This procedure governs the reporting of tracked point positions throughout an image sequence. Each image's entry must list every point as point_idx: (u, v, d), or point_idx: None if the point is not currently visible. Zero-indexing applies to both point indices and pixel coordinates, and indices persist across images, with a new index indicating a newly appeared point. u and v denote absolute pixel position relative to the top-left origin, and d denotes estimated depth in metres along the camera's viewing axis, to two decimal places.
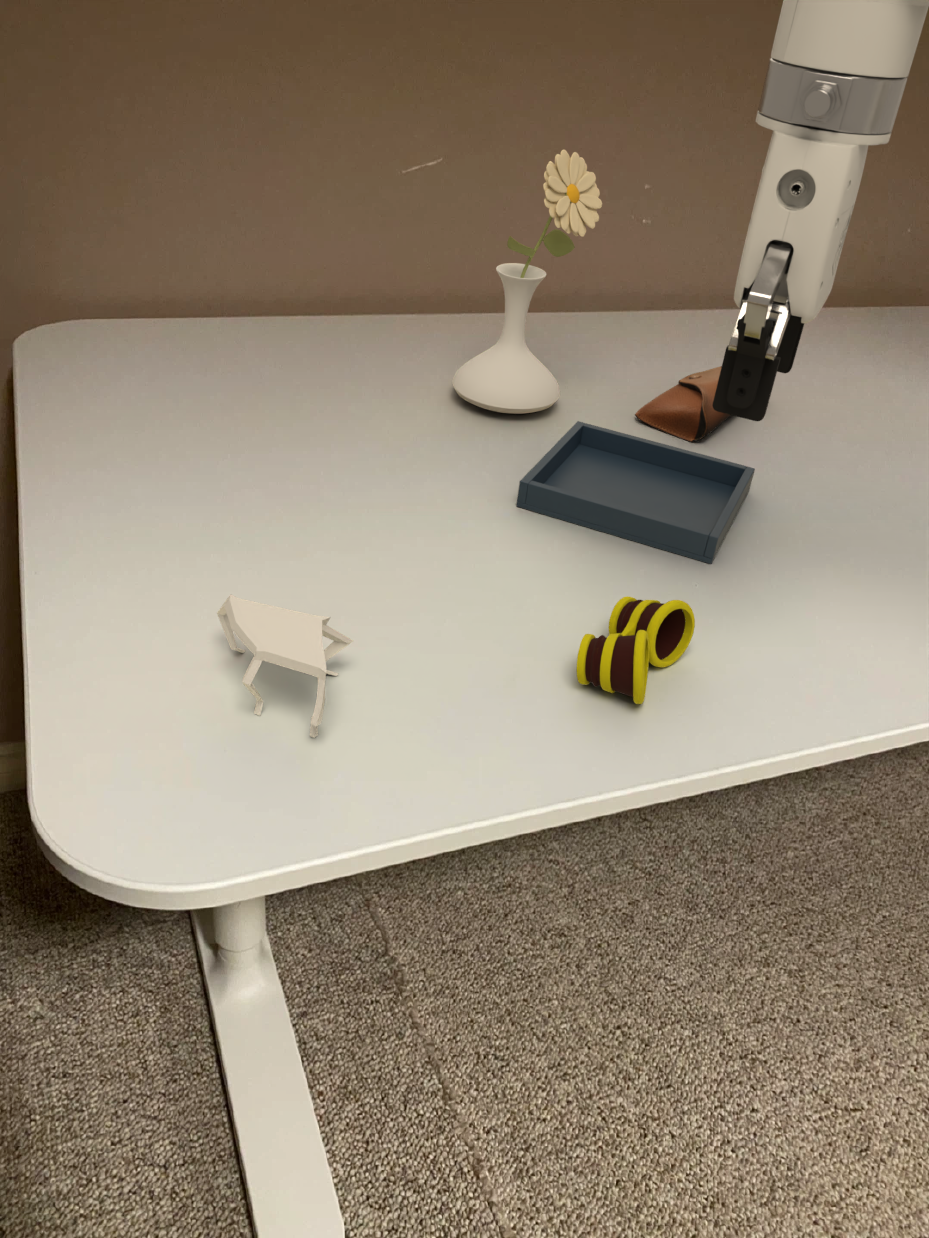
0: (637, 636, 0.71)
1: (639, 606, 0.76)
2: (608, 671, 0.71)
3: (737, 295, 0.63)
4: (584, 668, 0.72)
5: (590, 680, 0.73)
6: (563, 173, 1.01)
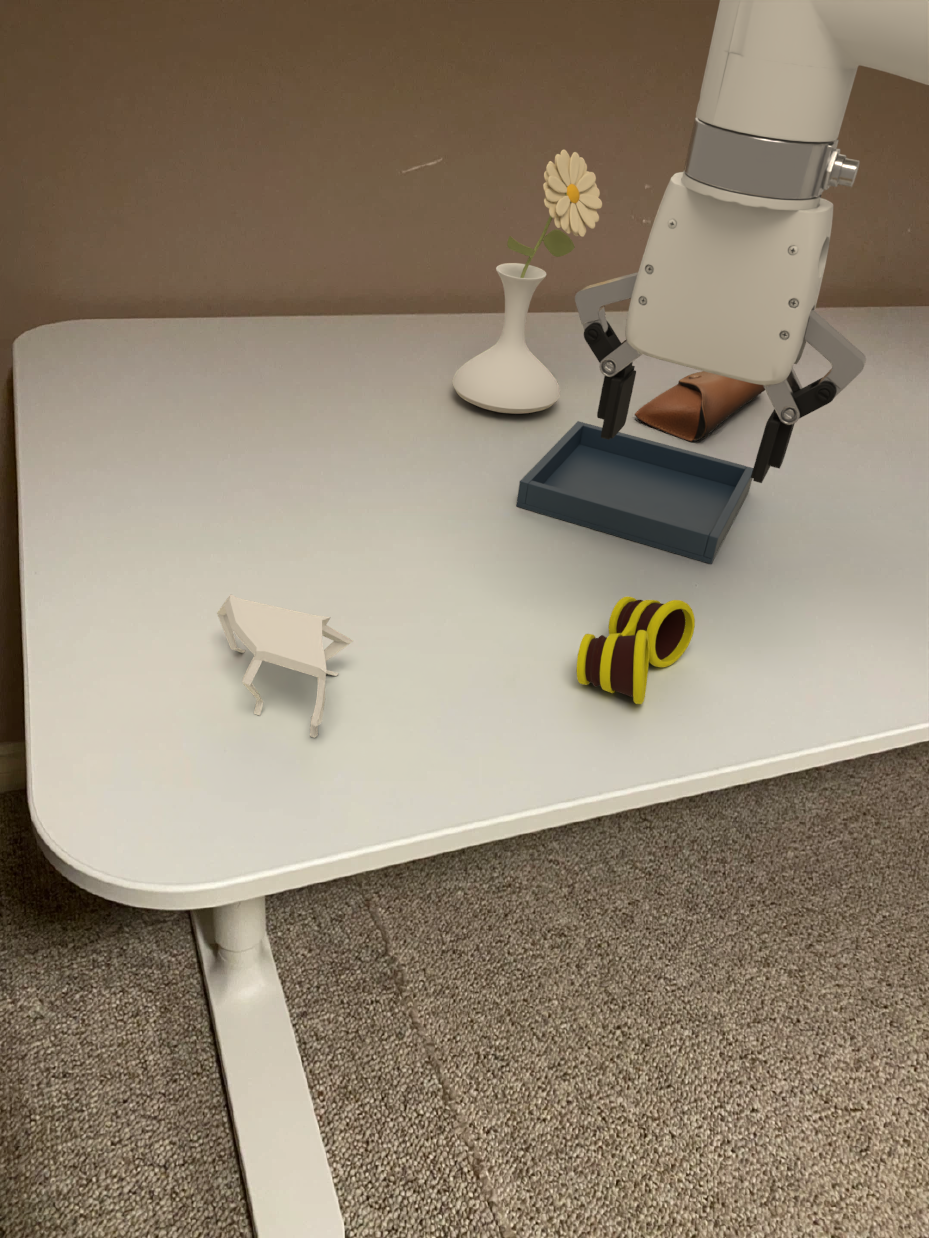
0: (637, 636, 0.71)
1: (639, 606, 0.76)
2: (608, 671, 0.71)
3: (785, 374, 0.61)
4: (584, 668, 0.72)
5: (590, 680, 0.73)
6: (563, 173, 1.01)
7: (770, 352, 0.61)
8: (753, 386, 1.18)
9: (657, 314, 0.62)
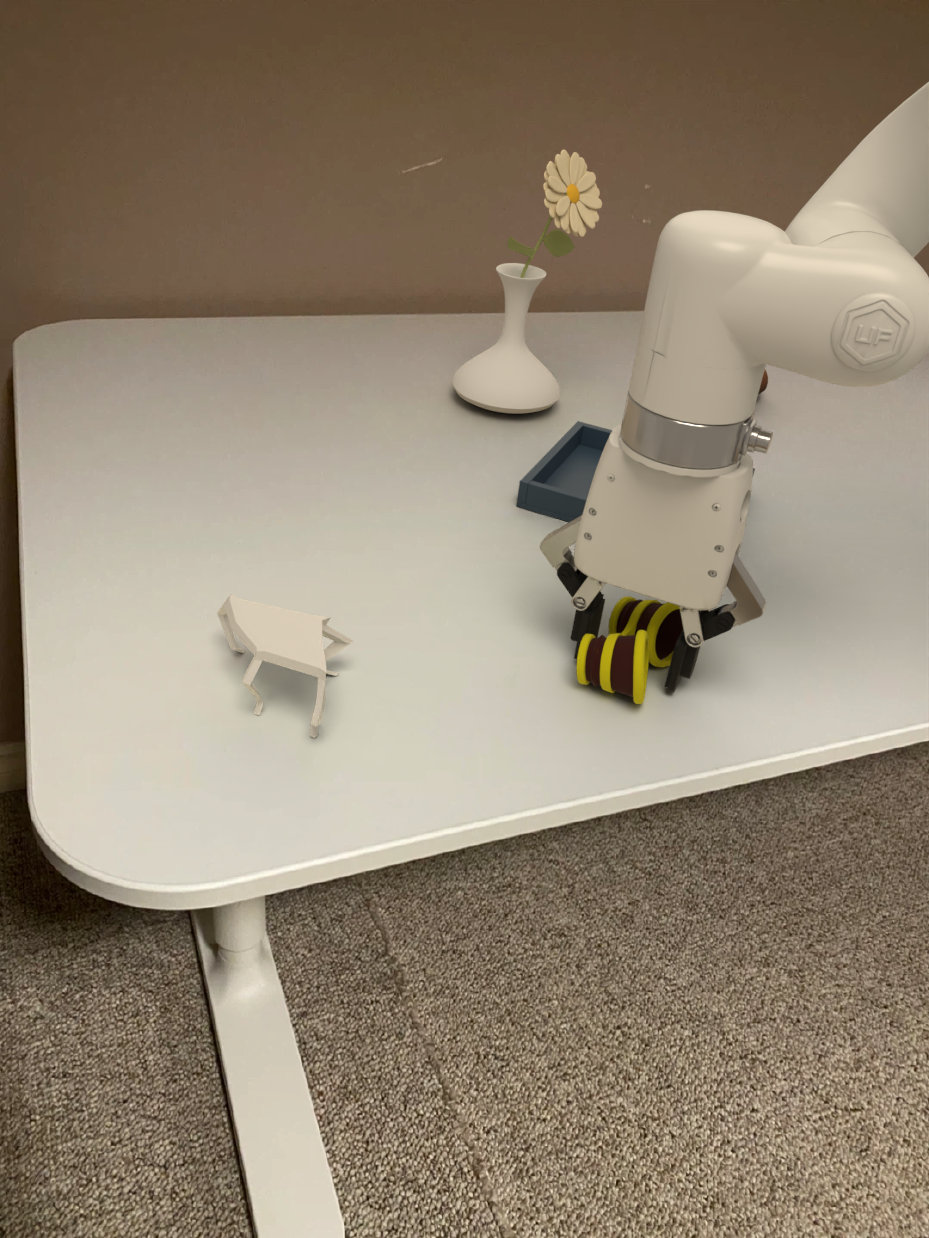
0: (637, 636, 0.71)
1: (639, 606, 0.76)
2: (608, 671, 0.71)
3: (714, 603, 0.69)
4: (584, 668, 0.72)
5: (590, 680, 0.73)
6: (563, 173, 1.01)
7: (700, 586, 0.68)
8: None
9: (601, 549, 0.70)
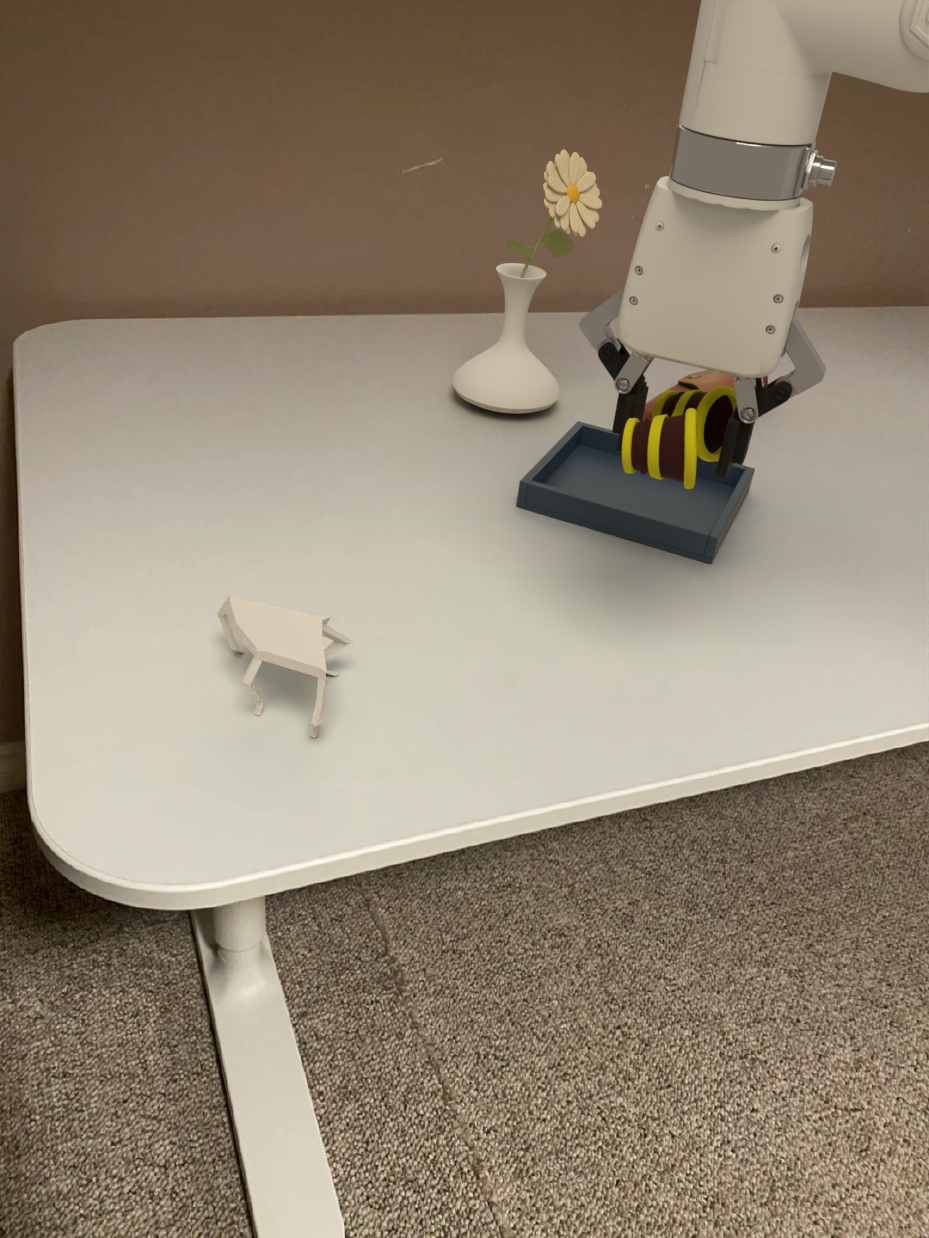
0: (687, 412, 0.66)
1: (685, 395, 0.71)
2: (657, 450, 0.66)
3: (772, 366, 0.64)
4: (630, 451, 0.67)
5: (636, 465, 0.68)
6: (563, 173, 1.01)
7: (757, 346, 0.63)
8: None
9: (648, 313, 0.65)
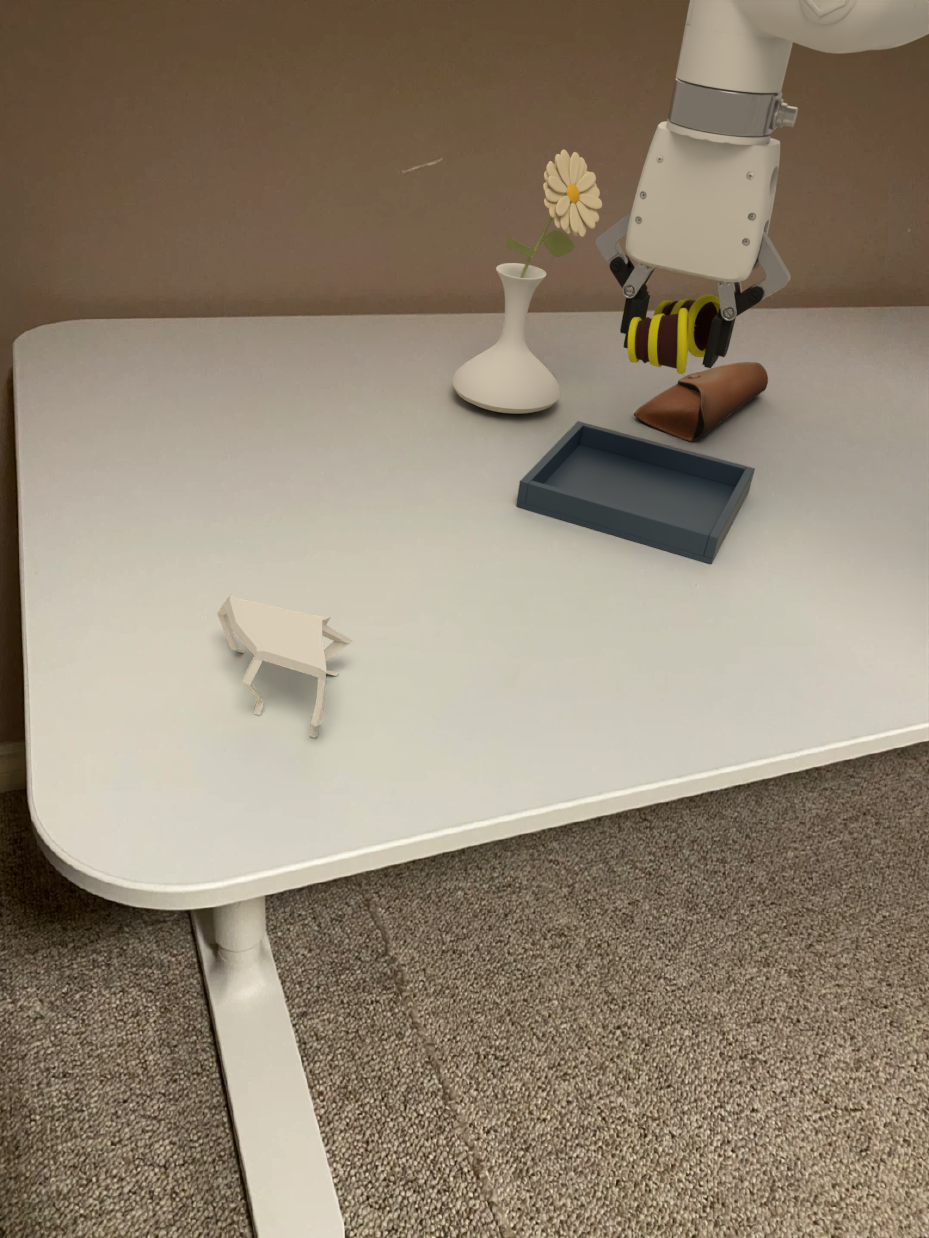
0: (680, 310, 0.83)
1: (679, 302, 0.88)
2: (655, 340, 0.83)
3: (747, 272, 0.81)
4: (634, 343, 0.84)
5: (639, 355, 0.85)
6: (563, 173, 1.01)
7: (735, 256, 0.80)
8: (752, 386, 1.18)
9: (650, 230, 0.82)
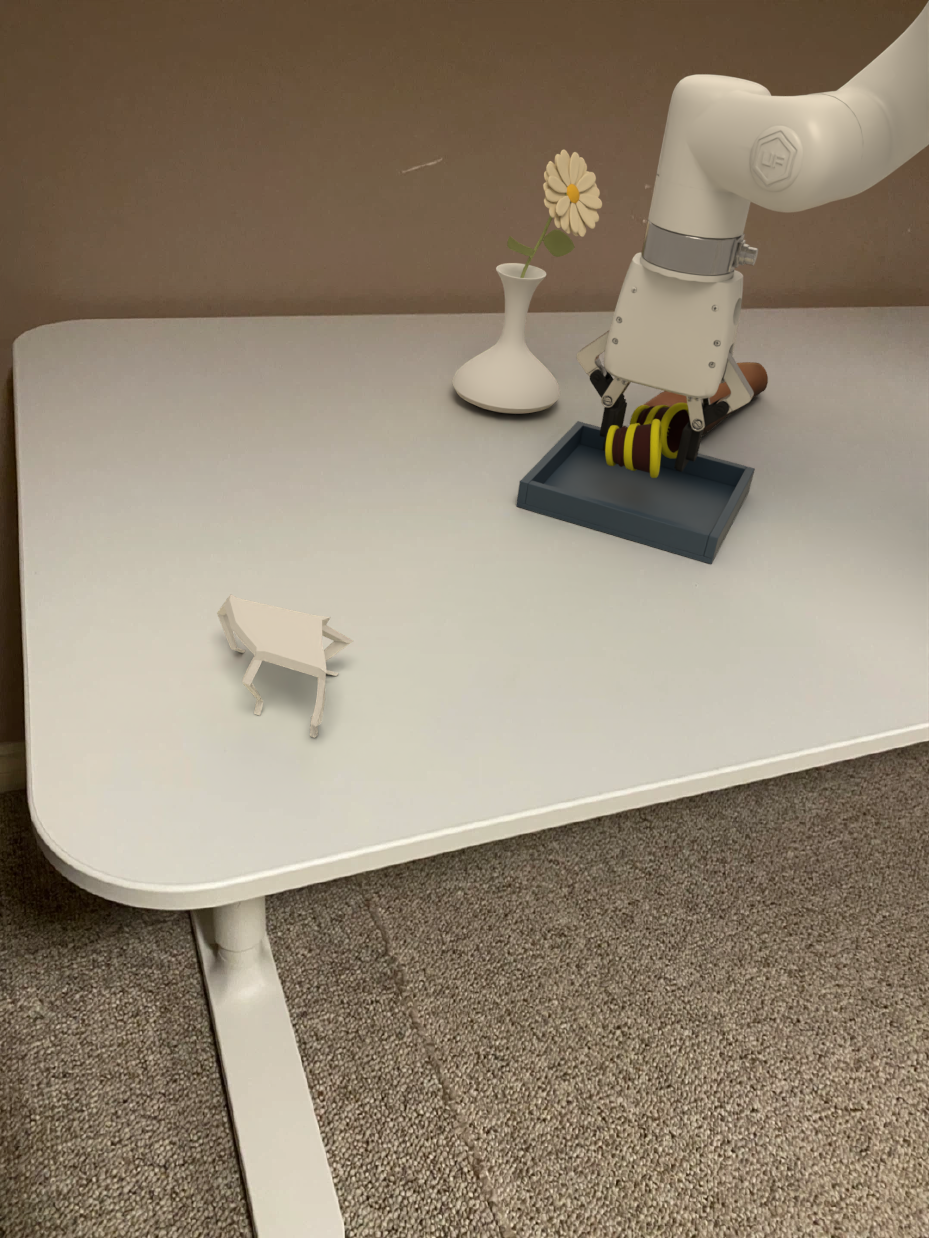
0: (653, 421, 0.91)
1: (654, 409, 0.96)
2: (630, 449, 0.91)
3: (713, 391, 0.89)
4: (611, 449, 0.92)
5: (616, 460, 0.93)
6: (563, 173, 1.01)
7: (703, 376, 0.88)
8: (752, 386, 1.18)
9: (625, 350, 0.90)
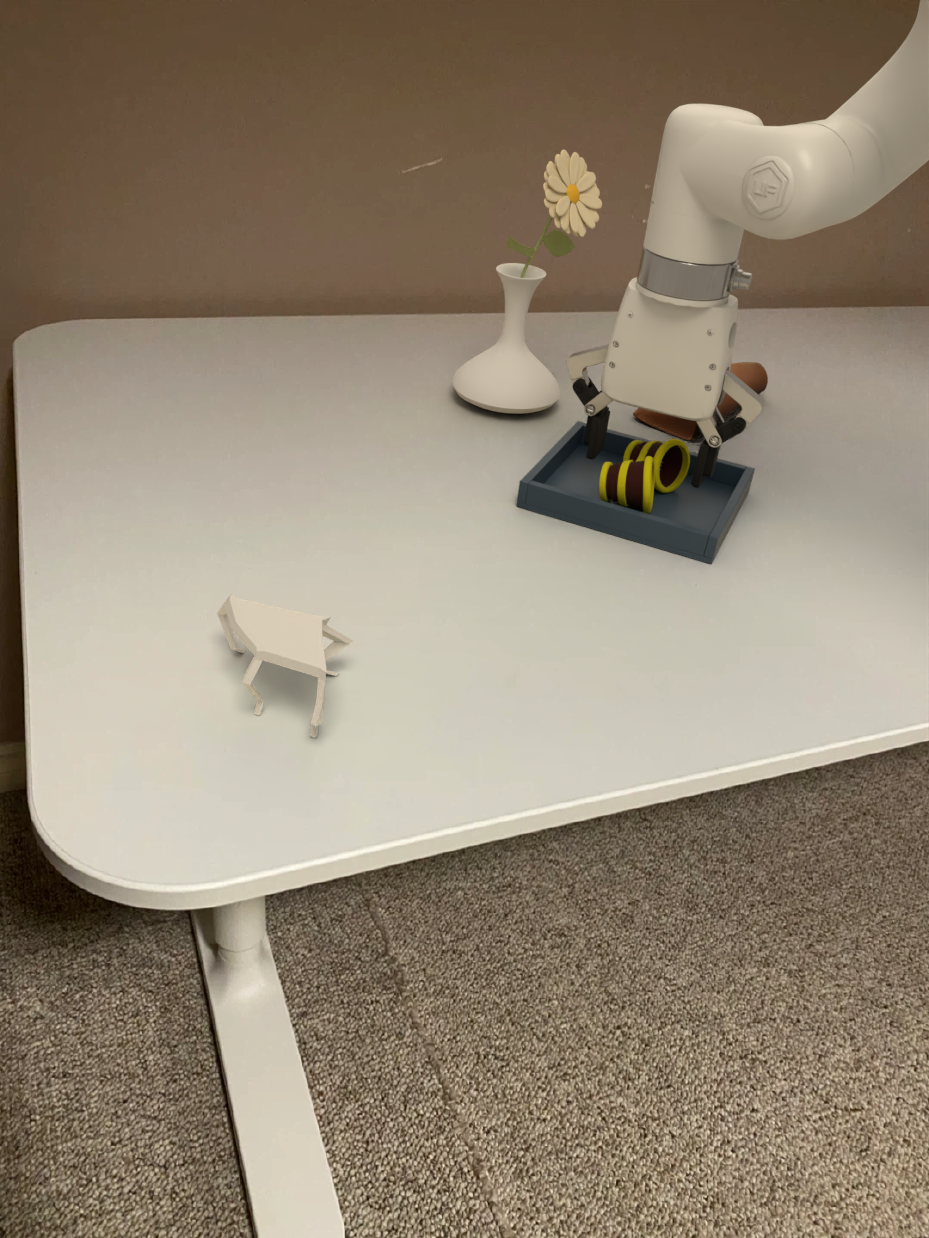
0: (646, 459, 0.93)
1: (647, 444, 0.98)
2: (623, 486, 0.93)
3: (710, 413, 0.90)
4: (605, 486, 0.94)
5: (609, 496, 0.95)
6: (563, 173, 1.01)
7: (699, 399, 0.89)
8: (752, 386, 1.18)
9: (622, 374, 0.91)
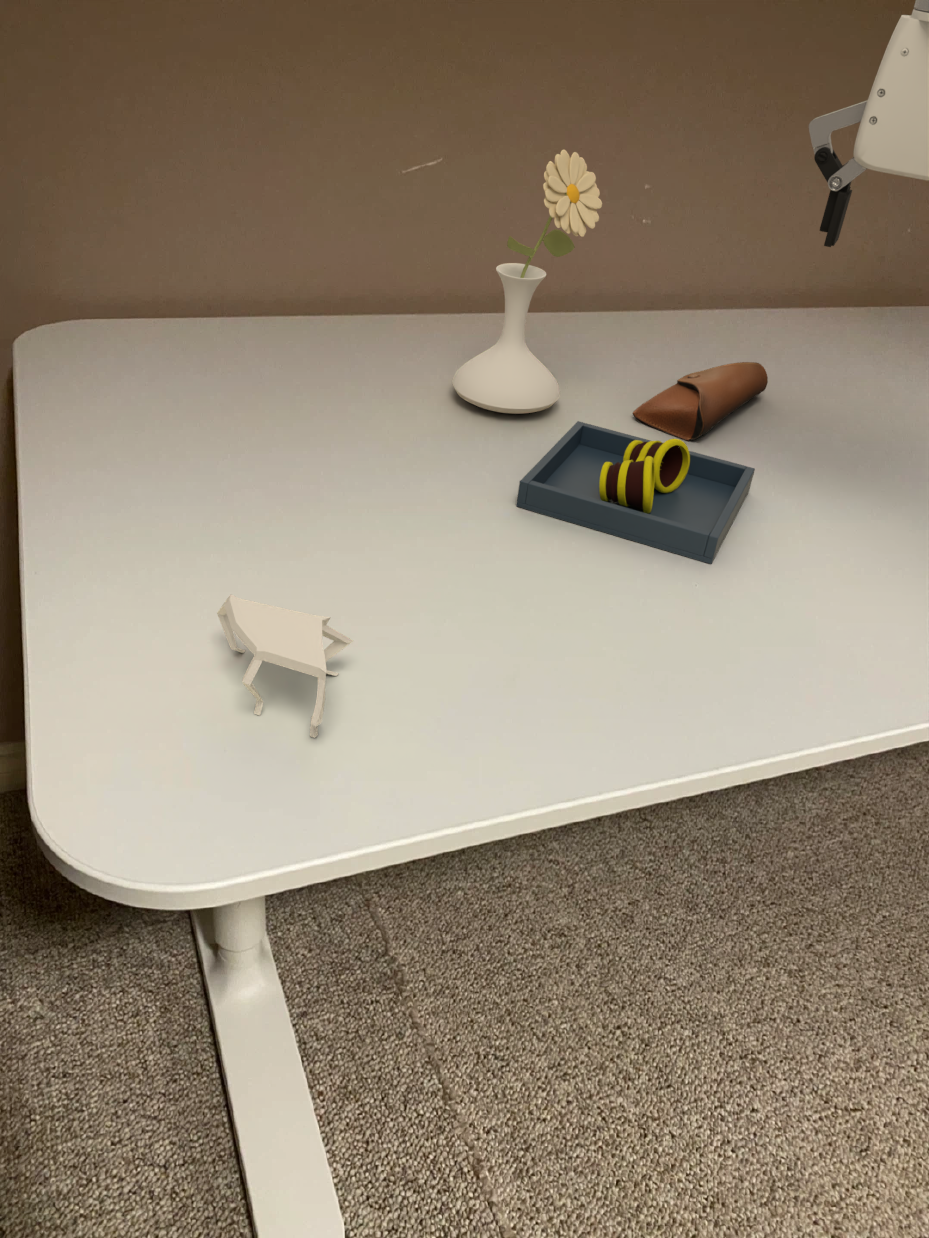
0: (646, 459, 0.93)
1: (647, 444, 0.98)
2: (623, 486, 0.93)
3: None
4: (605, 486, 0.94)
5: (609, 496, 0.95)
6: (563, 173, 1.01)
7: None
8: (752, 385, 1.18)
9: (885, 131, 0.77)
